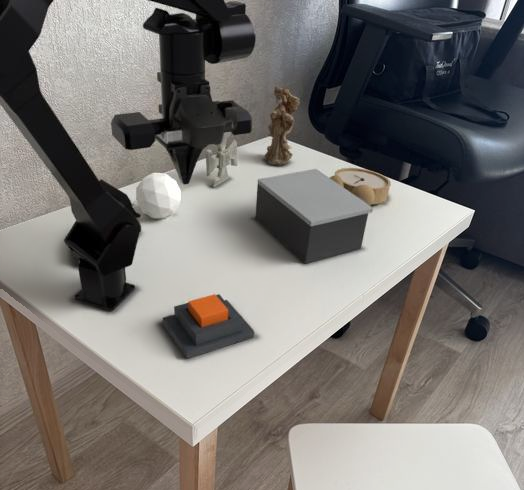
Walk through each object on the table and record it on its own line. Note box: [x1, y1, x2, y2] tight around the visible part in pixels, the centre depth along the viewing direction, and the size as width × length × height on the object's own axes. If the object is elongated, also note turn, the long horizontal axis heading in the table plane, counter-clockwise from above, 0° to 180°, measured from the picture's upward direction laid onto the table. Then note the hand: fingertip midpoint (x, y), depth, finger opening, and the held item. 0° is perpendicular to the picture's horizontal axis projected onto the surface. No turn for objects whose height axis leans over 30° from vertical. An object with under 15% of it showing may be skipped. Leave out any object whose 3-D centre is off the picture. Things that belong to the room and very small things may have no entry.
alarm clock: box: [329, 167, 392, 207], centre depth 112 cm, size 11×5×15 cm
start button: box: [187, 293, 228, 328], centre depth 76 cm, size 4×4×2 cm
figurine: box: [264, 86, 301, 167], centre depth 120 cm, size 7×6×15 cm
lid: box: [257, 168, 374, 226], centre depth 97 cm, size 12×17×1 cm
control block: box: [161, 293, 255, 360], centre depth 78 cm, size 10×8×3 cm
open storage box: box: [254, 183, 369, 265], centre depth 99 cm, size 12×17×7 cm
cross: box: [205, 132, 238, 188], centre depth 111 cm, size 10×3×10 cm, turn 149°
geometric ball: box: [135, 171, 182, 219], centre depth 100 cm, size 8×8×8 cm
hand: (184, 183), depth 84 cm, fingers closed
